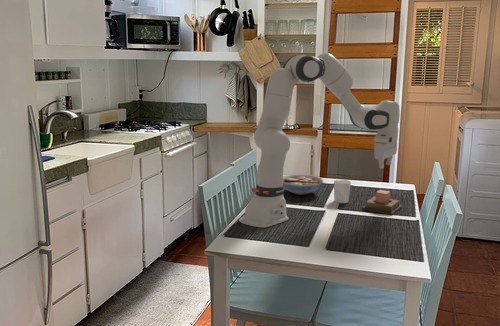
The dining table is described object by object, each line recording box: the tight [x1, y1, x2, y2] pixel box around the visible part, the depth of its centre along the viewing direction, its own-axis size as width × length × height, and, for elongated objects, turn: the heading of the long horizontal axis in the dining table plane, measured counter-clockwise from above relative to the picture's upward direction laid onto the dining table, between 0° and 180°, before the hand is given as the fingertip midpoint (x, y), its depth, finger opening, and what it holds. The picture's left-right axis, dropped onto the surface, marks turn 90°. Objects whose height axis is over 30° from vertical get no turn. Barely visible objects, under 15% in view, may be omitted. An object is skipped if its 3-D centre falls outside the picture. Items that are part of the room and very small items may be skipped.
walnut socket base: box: [361, 195, 403, 216], centre depth 221 cm, size 14×14×4 cm
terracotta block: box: [375, 189, 391, 204], centre depth 220 cm, size 5×5×7 cm
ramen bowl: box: [283, 173, 325, 196], centre depth 244 cm, size 25×23×8 cm
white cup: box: [333, 179, 352, 204], centre depth 230 cm, size 8×8×10 cm
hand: (385, 166), depth 217 cm, fingers open, 8 cm apart
